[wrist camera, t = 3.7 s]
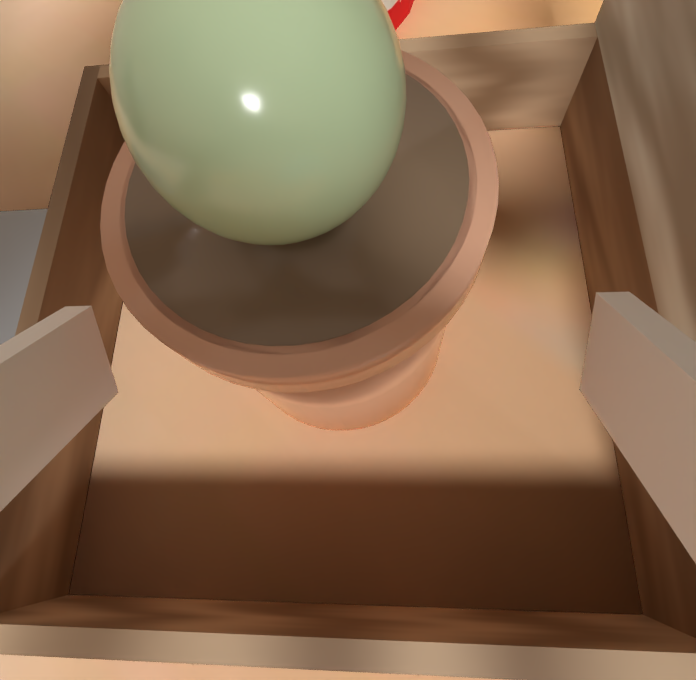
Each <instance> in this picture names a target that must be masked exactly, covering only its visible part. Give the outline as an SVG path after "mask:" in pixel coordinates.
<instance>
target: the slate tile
mask: <svg viewBox="0 0 696 680" xmlns="http://www.w3.org/2000/svg"><path fill="white" fill-rule="evenodd" d="M47 210H48V209H35V210H16V211H0V345H1V344H2V343H4V342H6V341H8V340H9V339H11V338H13V337H14V336H15V333H16V329H17V325H18V321H19V318H20V314H21V310H22V306H23V302H24V298H25V294H26V291H27V287H28V283H29V279H30V275H31V271H32V267H33V264H34V260H35V256H36V252H37V248H38V244H39V240H40V237H41V233H42V229H43V225H44V221H45V217H46V213H47Z"/></svg>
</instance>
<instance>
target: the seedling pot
mask: <svg viewBox="0 0 696 680" xmlns="http://www.w3.org/2000/svg"><path fill="white" fill-rule="evenodd" d="M109 75H110V84H111V94H112V102H113V106H114V110H115V113H116V117H117V120H118V124H119V127H120V131H121V133H122V136H123V138H124V140H125V142H124V143H123V145H122V147H121V149H120V151H119V153H118V155H117V157H116V159H115V161H114V163H113V166H112V168H111V171H110V174H109V177H108V180H107V182H106V186H105V191H104V196H103V200H102V206H101V221H100V231H101V243H102V250H103V254H104V258H105V263H106V267H107V270H108V273H109V275H110V277H111V280H112V282H113V284H114V287H115V289H116V291H117V293H118V294H119V296H120V297H121V299H122V301H123V302H124V304H125V305H126V307H127V308H128V310H129V311H130V312H131V313H132V314H133V316H134V317H135V318H136V319H137V320H138V321H139V322H140V323H141V325H142V326H143V327H144V328H145V329H146V330H148V331H149V332H150V333H151V334H153V335H154V336H155V337H156V338H157V339H159V340H160V341H161V342H162V343H164V344H165V345H166V346H168V347H169V348H171V349H172V350H174V351H175V352H177V353H178V354H180V355H181V356H182V357H184V358H185V359H187V360H188V361H190V362H191V363H193V364H195V365H196V366H198V367H200V368H201V369H203V370H205V371H206V372H208V373H210V374H212V375H214V376H216V377H219V378H221V379H224V380H226V381H229V382H231V383H234V384H237V385H241V386H245V387H249V388H253V389H256V390H257V391H258V392H260V393H261V394H262V395H263V396H265V397H266V398H267V399H268V400H269V401H271V402H272V403H273V404H274V405H276V406H277V407H278V408H279V409H281V410H282V411H283V412H284V413H286V414H287V415H289V416H291V417H292V418H294V419H296V420H297V421H300V422H302V423H305V424H307V425H310V426H313V427H317V428H321V429H328V430H354V429H361V428H365V427H368V426H372V425H375V424H378V423H380V422H382V421H385V420H387V419H389V418H390V417H392V416H394V415H396V414H397V413H399V412H400V411H401V410H403V409H404V408H405V407H407V406H408V405H409V404H410V403H411V402H412V401H413V400H414V399H415V398H416V397H417V396H418V395H419V393H420V392H421V391H422V389H423V388H424V387H425V385H426V384H427V382H428V380H429V378H430V377H431V375H432V373H433V370H434V368H435V365H436V362H437V359H438V355H439V351H440V347H441V343H442V339H443V335H444V331H445V327H446V325H447V324H448V322H449V321H450V320H451V318H452V317H453V316H454V314H455V313H456V312H457V311H458V309H459V308H460V307H461V305H462V304H463V302H464V300H465V299H466V297H467V295H468V293H469V291H470V289H471V288H472V286H473V284H474V282H475V279H476V277H477V274H478V271H479V269H480V266H481V263H482V261H483V258H484V255H485V252H486V249H487V246H488V243H489V240H490V237H491V234H492V231H493V227H494V222H495V217H496V212H497V207H498V194H499V177H498V168H497V160H496V156H495V152H494V149H493V145H492V142H491V138H490V136H489V134H488V132H487V129H486V127H485V125H484V123H483V121H482V119H481V117H480V115H479V114H478V112H477V111H476V109H475V108H474V106H473V105H472V103H471V102H470V100H469V99H468V98H467V97H466V96H465V95H464V94H463V93H462V92H461V90H460V89H459V88H458V87H457V86H456V85H455V84H454V83H453V82H452V81H450V80H449V79H448V78H447V77H446V76H444V75H443V74H442V73H441V72H440V71H438V70H437V69H435V68H434V67H432V66H431V65H429V64H427V63H426V62H424V61H423V60H421V59H419V58H417V57H415V56H413V55H411V54H409V53H407V52H405V51H402V50H401V48H400V44H399V39H398V36H397V34H396V31H395V28H394V26H393V23H392V21H391V19H390V16H389V14H388V11H387V9H386V7H385V5H384V4H383V2H382V0H122V2H121V4H120V7H119V9H118V13H117V17H116V21H115V25H114V29H113V33H112V37H111V47H110V62H109Z"/></svg>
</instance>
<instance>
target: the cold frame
mask: <svg viewBox="0 0 696 680" xmlns="http://www.w3.org/2000/svg"><path fill="white" fill-rule="evenodd" d="M399 44H400V48H401V50H402V51H405V52H407V53H409V54H411V55H413V56H415V57H417V58H419V59H421V60H423V61H424V62H426V63H427V64H429V65H431V66H432V67H434V68H435V69H437V70H438V71H440V72H441V73H442V74H443V75H444V76H446V77H447V78H448V79H449V80H450V81H452V82H453V83H454V84H455V85H456V86H457V87H458V88H459V89H460V90H461V92H462V93H463V94H464V95H465V96H466V97H467V98H468V99H469V100H470V102H471V103H472V105H473V106H474V108H475V109H476V111H477V112H478V114H479V115H480V117H481V119H482V121H483V123H484V125H485V127H486V129H487V131H489V130H504V129H520V128H535V127H550V126H560V128H561V134H562V139H563V145H564V151H565V157H566V163H567V169H568V175H569V181H570V187H571V193H572V199H573V205H574V210H575V216H576V222H577V228H578V234H579V240H580V246H581V252H582V258H583V264H584V270H585V275H586V281H587V287H588V293H589V299H590V305H591V311H592V313H593V307H594V302H595V296H596V292H630V293H632V294H633V295H634V296H636V297H637V298H638V299H640V300H641V301H642V302H644V303H645V304H646V305H648V306H649V307H650V308H651V309H653V310H654V311H655V312H657V313H658V314H659V315H661V316H662V317H663V318H665V319H666V320H667V321H668V322H670V323H671V324H672V325H674V326H675V327H676V328H678V329H679V330H680V331H682V332H683V333H684V334H685V335H687V336H688V337H689V338H691V339H692V340H693V341H695V342H696V0H604V1H603V3H602V6H601V8H600V11H599V13H598V16H597V18H596V21H595V23H586V24H574V25H563V26H551V27H539V28H528V29H516V30H504V31H493V32H481V33H470V34H458V35H446V36H435V37H423V38H411V39H400V40H399ZM124 142H125V140H124V138H123V136H122V133H121V131H120V127H119V124H118V120H117V117H116V113H115V110H114V106H113V102H112V94H111V84H110V75H109V65H97V66H86V67H84V71H83V75H82V79H81V82H80V86H79V90H78V94H77V98H76V102H75V106H74V109H73V113H72V117H71V121H70V125H69V129H68V133H67V136H66V140H65V144H64V148H63V152H62V156H61V160H60V163H59V167H58V171H57V175H56V179H55V183H54V187H53V190H52V194H51V198H50V202H49V206H48V210H47V213H46V217H45V221H44V225H43V229H42V233H41V237H40V240H39V244H38V248H37V252H36V256H35V260H34V264H33V267H32V271H31V275H30V279H29V283H28V287H27V291H26V294H25V298H24V302H23V306H22V310H21V314H20V318H19V321H18V325H17V329H16V333H15V336H16V335H18V334H19V333H21V332H23V331H24V330H26V329H28V328H30V327H31V326H33V325H35V324H36V323H38V322H40V321H41V320H43V319H45V318H47V317H48V316H50V315H52V314H53V313H55V312H57V311H58V310H60V309H62V308H64V307H65V306H92V309H93V312H94V315H95V319H96V322H97V325H98V328H99V331H100V335H101V338H102V341H103V344H104V347H105V351H106V354H107V357H108V360H109V363H110V367H111V361H112V356H113V350H114V345H115V340H116V334H117V329H118V323H119V318H120V313H121V307H122V302H123V301H122V299H121V297H120V296H119V294H118V293H117V291H116V289H115V287H114V284H113V282H112V280H111V277H110V275H109V273H108V270H107V267H106V263H105V258H104V254H103V250H102V243H101V231H100V221H101V206H102V200H103V196H104V191H105V186H106V182H107V180H108V177H109V174H110V171H111V168H112V166H113V163H114V161H115V159H116V157H117V155H118V153H119V151H120V149H121V147H122V145H123V143H124ZM102 410H103V408H102V409H101V410H100V411H99V412H98V413H97V414H96V415H95V416H94V417H93V418H92V419H91V420H90V421H89V422H88V423H87V425H86V426H85V427H84V428H83V429H82V430H81V431H80V432H79V433H78V434H77V435H76V436H75V437H74V438H73V439H72V440H71V441H70V442H69V443H68V444H67V445H66V446H65V447H64V448H63V449H62V450H61V451H60V452H59V453H58V454H57V455H56V456H55V457H54V458H53V459H52V460H51V461H50V462H49V463H48V464H47V465H46V466H45V467H44V468H43V469H42V470H41V471H40V472H39V473H38V474H37V475H36V476H35V477H34V478H33V479H32V480H31V481H30V482H29V483H28V484H27V485H26V486H25V487H24V488H23V489H22V490H21V491H20V492H19V493H18V494H17V495H16V496H15V497H14V498H13V499H12V500H11V501H10V502H9V504H8V505H7V506H6V507H5V508H4V509H3V510H2V511H1V512H0V654H3V655H24V656H44V657H64V658H85V659H105V660H125V661H145V662H166V663H186V664H206V665H227V666H247V667H267V668H288V669H308V670H328V671H349V672H369V673H389V674H409V675H430V676H450V677H470V678H491V679H511V680H696V564H695V562H694V561H693V559H692V558H691V556H690V555H689V553H688V552H687V550H686V549H685V547H684V546H683V544H682V543H681V541H680V540H679V538H678V537H677V535H676V534H675V532H674V531H673V529H672V528H671V526H670V525H669V523H668V522H667V520H666V519H665V517H664V516H663V514H662V513H661V511H660V510H659V508H658V507H657V505H656V504H655V502H654V501H653V499H652V498H651V496H650V495H649V493H648V492H647V490H646V489H645V487H644V486H643V484H642V483H641V481H640V480H639V478H638V477H637V475H636V474H635V472H634V471H633V469H632V468H631V466H630V465H629V463H628V462H627V460H626V459H625V457H624V456H623V454H622V453H621V451H620V450H619V448H618V447H617V445H616V444H615V442H614V447H615V453H616V459H617V465H618V471H619V476H620V482H621V488H622V494H623V500H624V506H625V512H626V518H627V524H628V530H629V536H630V541H631V547H632V553H633V559H634V565H635V571H636V577H637V583H638V589H639V595H640V601H641V606H642V612H643V615H637V614H608V613H579V612H551V611H522V610H493V609H464V608H436V607H407V606H378V605H349V604H321V603H292V602H263V601H235V600H206V599H177V598H148V597H120V596H91V595H68V594H69V589H70V583H71V578H72V573H73V567H74V562H75V556H76V551H77V546H78V540H79V535H80V529H81V524H82V518H83V513H84V508H85V502H86V497H87V491H88V486H89V481H90V475H91V470H92V464H93V459H94V453H95V448H96V443H97V437H98V432H99V426H100V421H101V416H102Z"/></svg>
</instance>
